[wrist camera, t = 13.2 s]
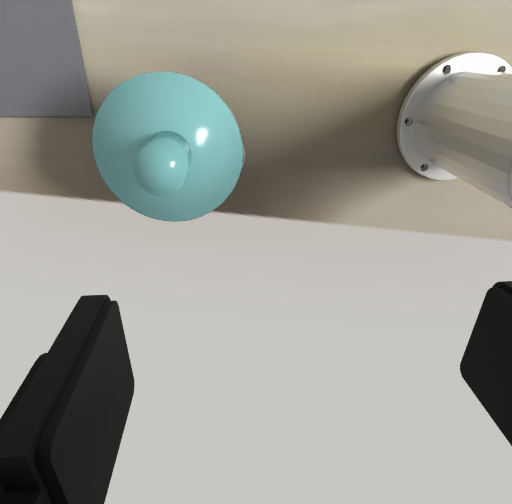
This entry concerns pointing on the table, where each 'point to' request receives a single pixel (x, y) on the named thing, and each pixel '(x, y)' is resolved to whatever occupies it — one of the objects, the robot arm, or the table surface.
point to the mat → (41, 60)
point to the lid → (167, 146)
